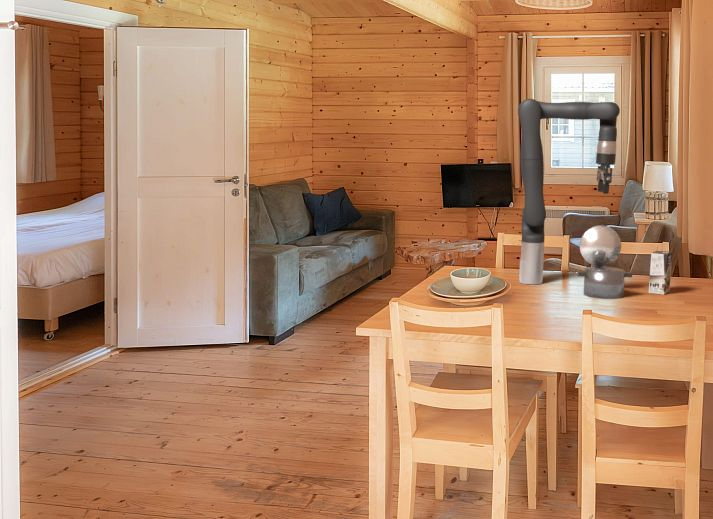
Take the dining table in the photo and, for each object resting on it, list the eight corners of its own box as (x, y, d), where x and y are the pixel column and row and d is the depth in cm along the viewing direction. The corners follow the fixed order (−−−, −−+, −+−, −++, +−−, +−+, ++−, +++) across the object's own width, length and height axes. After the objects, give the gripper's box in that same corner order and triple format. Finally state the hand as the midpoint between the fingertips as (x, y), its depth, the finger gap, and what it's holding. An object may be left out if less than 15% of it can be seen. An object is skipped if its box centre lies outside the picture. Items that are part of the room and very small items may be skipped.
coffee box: (664, 294, 357) (667, 254, 354) (648, 293, 360) (650, 252, 358) (670, 291, 364) (673, 251, 362) (653, 289, 368) (656, 249, 365)
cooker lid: (581, 225, 359) (579, 224, 363) (579, 265, 361) (577, 264, 365) (622, 226, 359) (619, 225, 363) (620, 266, 361) (618, 265, 364)
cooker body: (580, 298, 348) (582, 272, 346) (571, 289, 365) (572, 265, 363) (635, 299, 347) (636, 273, 346) (623, 290, 364) (624, 266, 363)
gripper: (592, 151, 374) (589, 190, 376) (601, 152, 360) (597, 193, 362) (611, 152, 374) (607, 191, 376) (620, 153, 360) (616, 194, 362)
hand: (602, 192), depth 369 cm, fingers open, 8 cm apart
